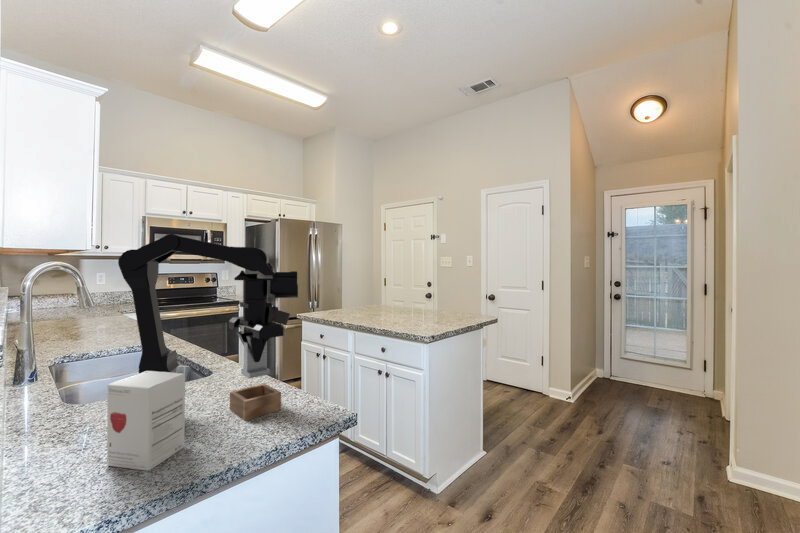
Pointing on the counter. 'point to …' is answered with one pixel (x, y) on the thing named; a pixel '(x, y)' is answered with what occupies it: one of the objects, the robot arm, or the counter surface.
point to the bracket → (254, 363)
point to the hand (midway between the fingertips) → (255, 361)
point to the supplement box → (145, 419)
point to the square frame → (255, 401)
